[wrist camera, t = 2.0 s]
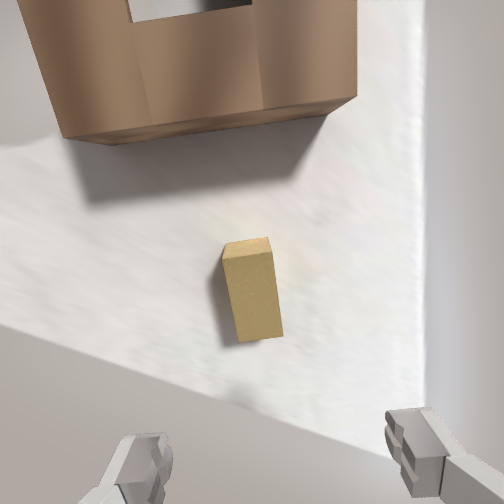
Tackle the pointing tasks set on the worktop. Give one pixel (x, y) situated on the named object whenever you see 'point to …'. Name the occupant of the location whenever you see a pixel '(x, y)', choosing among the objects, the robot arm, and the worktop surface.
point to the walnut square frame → (191, 66)
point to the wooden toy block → (252, 289)
